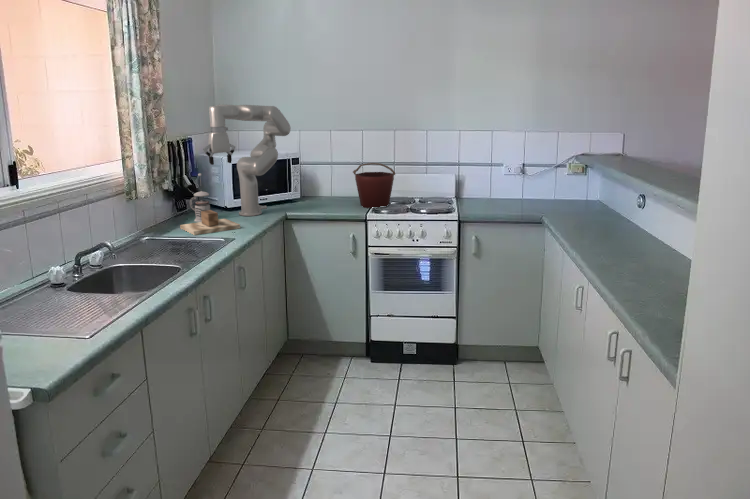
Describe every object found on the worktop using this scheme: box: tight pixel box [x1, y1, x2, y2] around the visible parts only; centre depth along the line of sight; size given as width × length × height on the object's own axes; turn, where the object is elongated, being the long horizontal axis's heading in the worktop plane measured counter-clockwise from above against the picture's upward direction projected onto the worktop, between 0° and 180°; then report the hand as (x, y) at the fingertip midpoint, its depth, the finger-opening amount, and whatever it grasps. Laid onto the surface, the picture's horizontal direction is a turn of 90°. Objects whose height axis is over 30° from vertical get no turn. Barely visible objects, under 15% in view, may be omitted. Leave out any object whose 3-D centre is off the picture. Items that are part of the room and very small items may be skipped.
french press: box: [189, 173, 211, 223], centre depth 331 cm, size 10×12×25 cm
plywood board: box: [179, 218, 241, 236], centre depth 313 cm, size 24×18×2 cm
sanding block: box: [200, 209, 219, 227], centre depth 312 cm, size 5×9×6 cm, turn 37°
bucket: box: [352, 162, 396, 209], centre depth 366 cm, size 24×22×25 cm
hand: (220, 163), depth 324 cm, fingers open, 9 cm apart
